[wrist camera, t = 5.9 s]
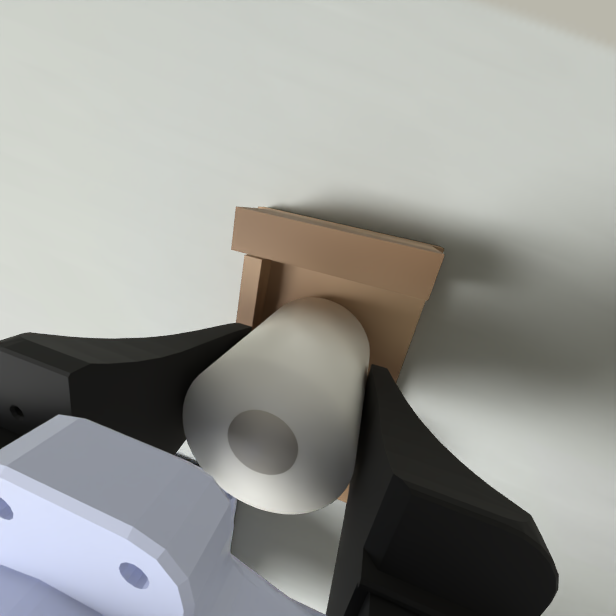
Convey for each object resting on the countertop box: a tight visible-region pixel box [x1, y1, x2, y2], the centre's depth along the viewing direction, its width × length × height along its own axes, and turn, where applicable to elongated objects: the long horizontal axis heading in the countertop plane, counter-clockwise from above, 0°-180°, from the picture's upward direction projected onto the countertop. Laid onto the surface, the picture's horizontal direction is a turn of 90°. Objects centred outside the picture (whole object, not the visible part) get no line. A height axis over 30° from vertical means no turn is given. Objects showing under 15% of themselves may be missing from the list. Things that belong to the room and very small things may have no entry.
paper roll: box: [182, 297, 370, 514], centre depth 11 cm, size 5×5×6 cm
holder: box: [231, 207, 445, 503], centre depth 13 cm, size 11×8×4 cm
